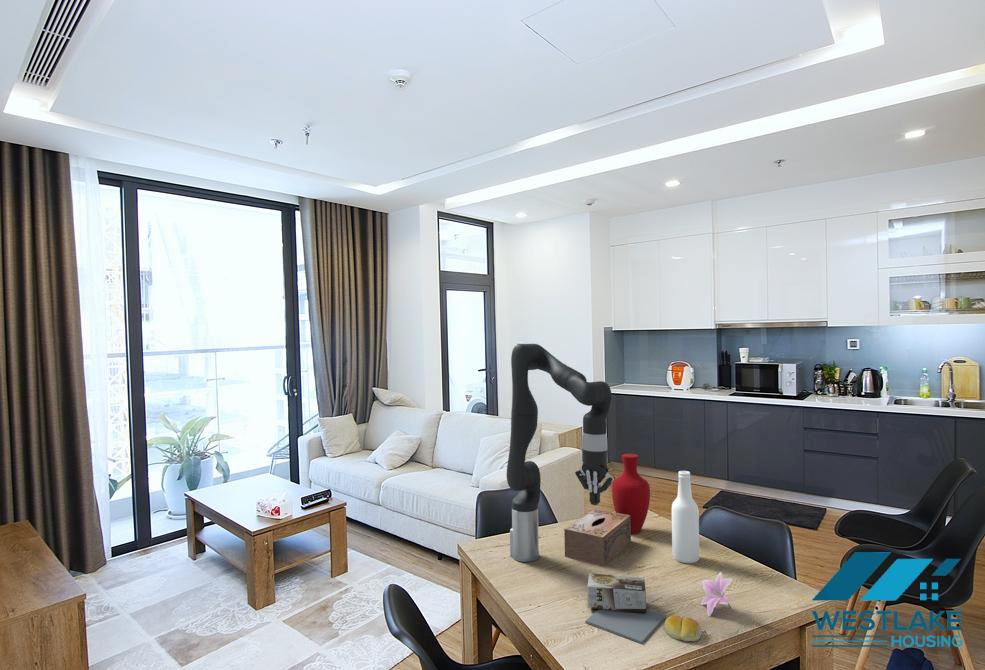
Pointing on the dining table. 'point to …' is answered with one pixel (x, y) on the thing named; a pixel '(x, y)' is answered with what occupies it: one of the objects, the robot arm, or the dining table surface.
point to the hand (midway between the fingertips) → (594, 504)
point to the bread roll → (683, 628)
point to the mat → (627, 623)
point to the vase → (631, 493)
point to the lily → (715, 592)
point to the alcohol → (685, 523)
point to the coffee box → (617, 593)
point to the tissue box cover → (597, 536)
